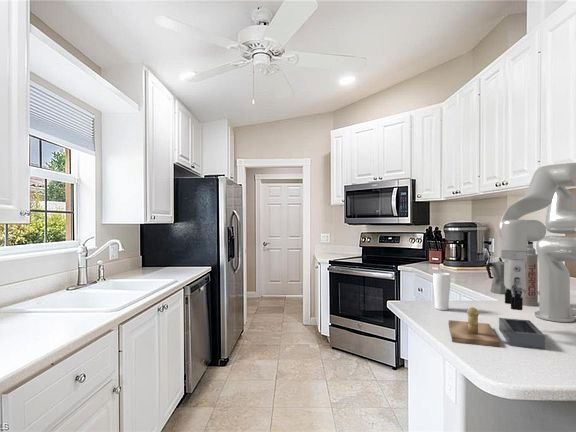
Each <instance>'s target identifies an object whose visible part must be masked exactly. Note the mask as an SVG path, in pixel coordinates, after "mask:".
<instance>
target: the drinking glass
mask: <svg viewBox="0 0 576 432" xmlns="http://www.w3.org/2000/svg"><path fill="white" fill-rule="evenodd" d="M432 287H433V295H434V296H433V297H434V309H435V310H439V311H448V310H449V306H450V305H449V302H450V292H451V273H448V272H433V273H432Z"/></svg>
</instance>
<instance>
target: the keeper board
mask: <svg viewBox="0 0 576 432" xmlns="http://www.w3.org/2000/svg"><path fill="white" fill-rule="evenodd" d="M466 310H467V311H466V314H467V321H463V320H461V321H460V320H451V319H449V320H448V327H449V332H450V337H451V341H452V342H453V343H459V342H460V344H468V343H469V344H471V345H477V346H478V345H479V346H489V347H497V348H500V347H501V345H500V344H501V342H500V340H499V338H498V337H497V335H496V333H495V332H494V330H493V328H492V326H491V325H490V323H487V322H486V323H483V322H479V320H478V319H479V315H480V312H479V310H478V309H477V308H476V307H473V306H472V307H469V308H467V309H466Z"/></svg>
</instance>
